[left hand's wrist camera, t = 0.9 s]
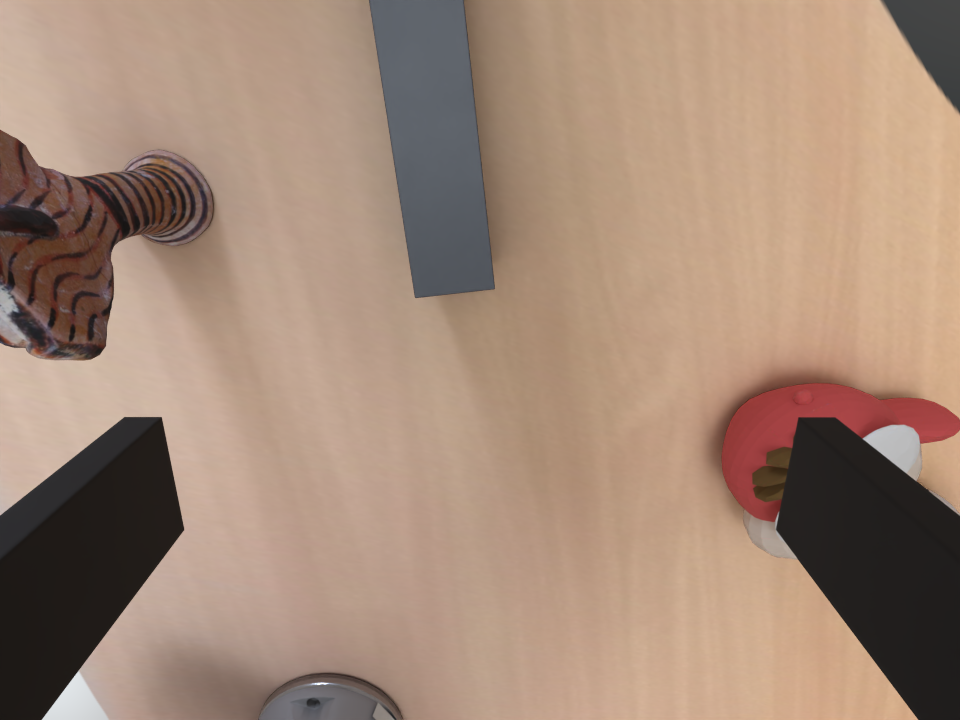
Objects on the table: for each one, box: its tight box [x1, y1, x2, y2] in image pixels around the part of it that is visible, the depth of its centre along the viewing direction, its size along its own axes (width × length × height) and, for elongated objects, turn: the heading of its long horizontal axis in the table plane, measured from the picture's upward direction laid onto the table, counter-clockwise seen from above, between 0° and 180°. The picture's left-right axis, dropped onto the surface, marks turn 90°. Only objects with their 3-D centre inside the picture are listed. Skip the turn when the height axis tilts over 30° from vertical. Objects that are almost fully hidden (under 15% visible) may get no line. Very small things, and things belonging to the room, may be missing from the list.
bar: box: [369, 0, 495, 298], centre depth 39 cm, size 26×5×9 cm, turn 7°
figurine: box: [0, 130, 213, 360], centre depth 31 cm, size 15×8×30 cm, turn 32°
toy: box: [722, 383, 960, 559], centre depth 51 cm, size 18×10×30 cm
